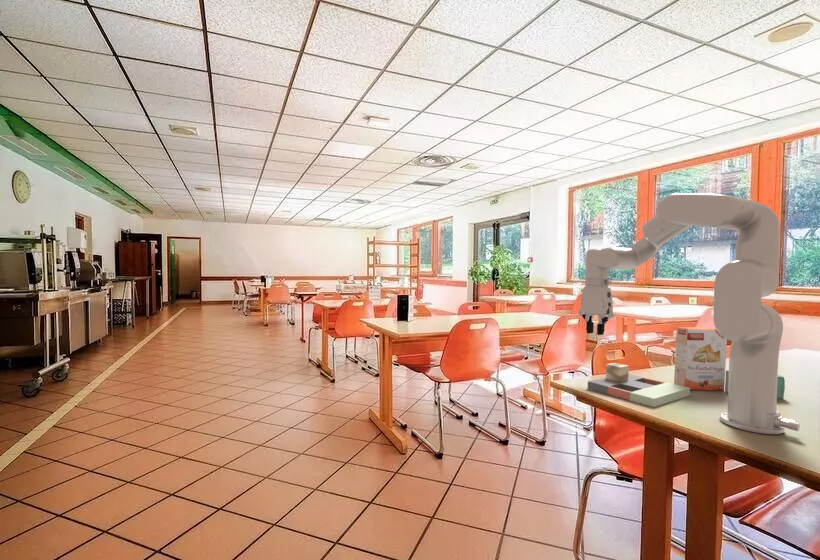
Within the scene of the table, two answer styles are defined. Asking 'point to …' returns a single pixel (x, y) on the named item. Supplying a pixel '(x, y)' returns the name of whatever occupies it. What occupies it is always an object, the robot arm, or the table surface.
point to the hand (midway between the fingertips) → (595, 333)
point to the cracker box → (700, 358)
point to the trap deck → (641, 390)
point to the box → (779, 385)
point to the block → (617, 372)
